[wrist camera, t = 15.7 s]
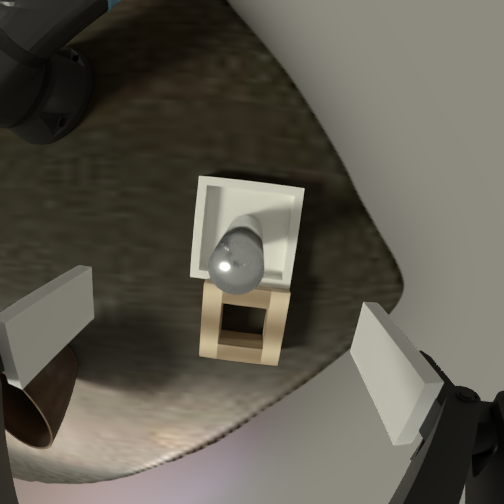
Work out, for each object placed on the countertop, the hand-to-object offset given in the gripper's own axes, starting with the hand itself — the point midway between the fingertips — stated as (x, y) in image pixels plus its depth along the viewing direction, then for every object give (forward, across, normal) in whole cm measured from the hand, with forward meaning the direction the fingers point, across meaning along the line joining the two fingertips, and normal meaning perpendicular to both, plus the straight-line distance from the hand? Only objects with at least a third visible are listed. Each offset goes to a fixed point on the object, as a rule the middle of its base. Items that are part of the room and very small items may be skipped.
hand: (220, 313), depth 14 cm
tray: (+25, 0, 0) cm, 25 cm away
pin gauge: (+24, 0, 0) cm, 25 cm away
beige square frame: (+25, +1, -11) cm, 28 cm away
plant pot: (+26, -29, -25) cm, 46 cm away
